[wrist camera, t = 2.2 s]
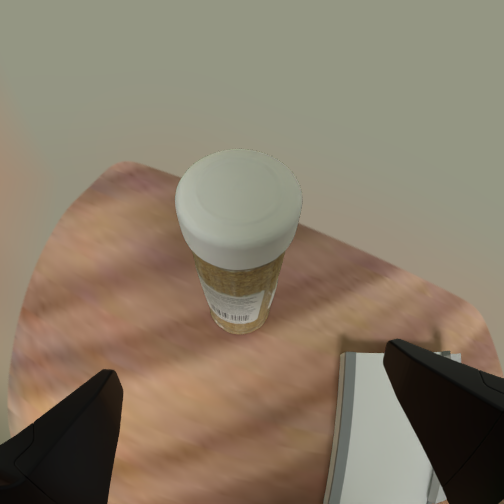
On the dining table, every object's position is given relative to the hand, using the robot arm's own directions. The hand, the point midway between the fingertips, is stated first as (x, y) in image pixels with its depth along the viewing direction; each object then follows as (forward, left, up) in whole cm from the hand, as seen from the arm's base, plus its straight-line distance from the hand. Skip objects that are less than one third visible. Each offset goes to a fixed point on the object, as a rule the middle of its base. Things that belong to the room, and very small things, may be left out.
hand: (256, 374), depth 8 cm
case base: (-4, -12, -12) cm, 17 cm away
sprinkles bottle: (+6, +1, -12) cm, 14 cm away
